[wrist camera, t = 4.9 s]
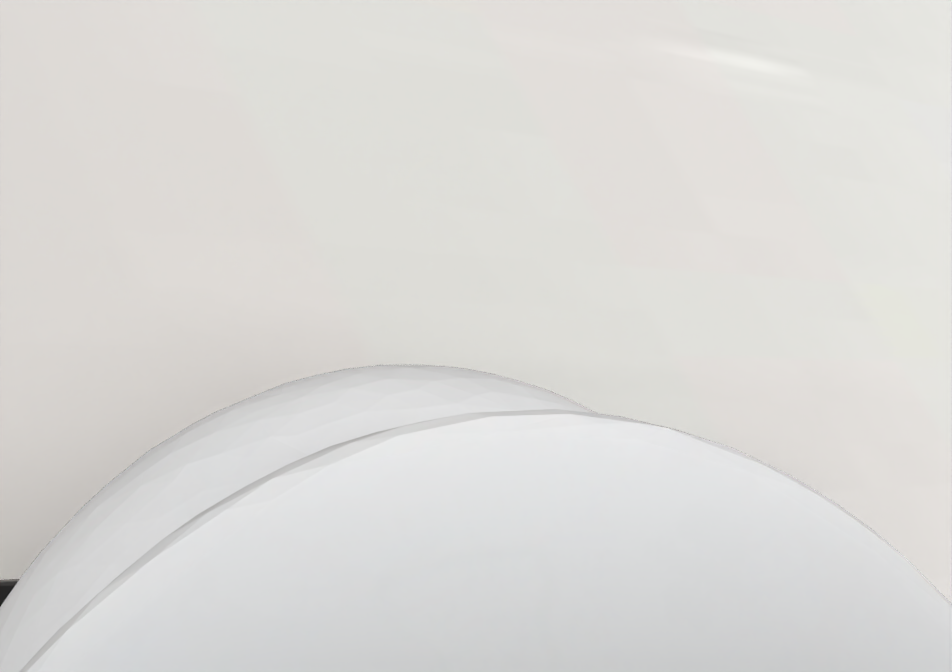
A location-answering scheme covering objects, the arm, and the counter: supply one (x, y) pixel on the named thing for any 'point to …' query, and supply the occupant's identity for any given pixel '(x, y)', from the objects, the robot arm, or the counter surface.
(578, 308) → the counter surface
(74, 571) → the supplement bottle
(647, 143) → the counter surface
